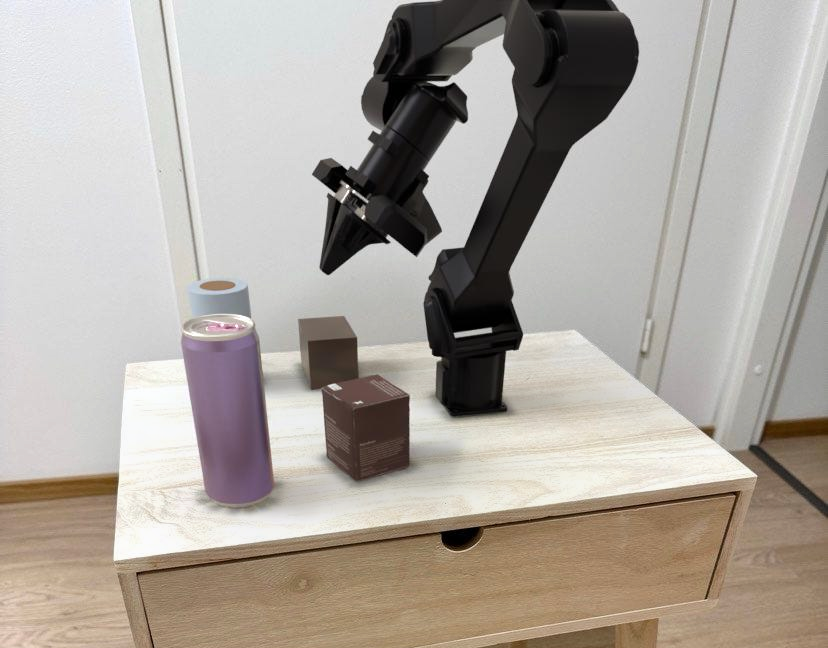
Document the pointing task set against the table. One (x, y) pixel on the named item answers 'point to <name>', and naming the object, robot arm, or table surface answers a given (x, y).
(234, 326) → the beverage can
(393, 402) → the box
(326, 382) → the walnut block
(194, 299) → the light blue cylinder
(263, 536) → the table surface
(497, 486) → the table surface
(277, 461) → the table surface
